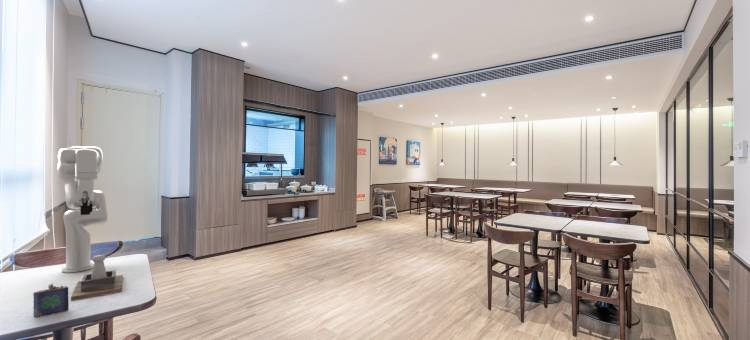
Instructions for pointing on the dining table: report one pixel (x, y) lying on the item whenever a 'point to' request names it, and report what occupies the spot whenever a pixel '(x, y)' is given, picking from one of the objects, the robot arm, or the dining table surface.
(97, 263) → the salt shaker
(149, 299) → the dining table surface
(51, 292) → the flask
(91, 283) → the holder board
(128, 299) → the dining table surface
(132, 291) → the dining table surface
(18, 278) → the dining table surface
